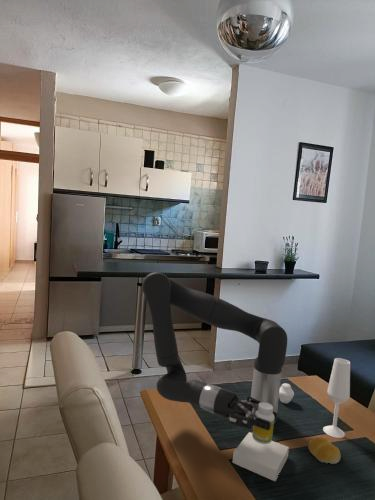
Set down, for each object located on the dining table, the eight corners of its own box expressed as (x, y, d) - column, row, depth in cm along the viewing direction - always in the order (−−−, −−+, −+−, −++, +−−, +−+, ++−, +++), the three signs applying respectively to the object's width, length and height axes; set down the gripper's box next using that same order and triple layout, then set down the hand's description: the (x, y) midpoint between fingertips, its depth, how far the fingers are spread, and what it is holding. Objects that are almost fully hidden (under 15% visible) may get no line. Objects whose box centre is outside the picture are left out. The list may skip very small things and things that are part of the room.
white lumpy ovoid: (284, 406, 132) (286, 388, 131) (273, 398, 137) (274, 381, 137) (296, 403, 135) (298, 385, 134) (284, 396, 140) (286, 378, 140)
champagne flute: (340, 440, 113) (349, 366, 111) (319, 430, 118) (327, 360, 116) (347, 432, 118) (356, 361, 116) (327, 423, 123) (335, 355, 121)
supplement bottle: (272, 446, 97) (276, 412, 96) (251, 442, 98) (255, 408, 97) (271, 435, 102) (275, 402, 101) (252, 431, 103) (256, 399, 102)
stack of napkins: (248, 441, 109) (249, 431, 108) (287, 457, 103) (288, 447, 102) (232, 462, 98) (233, 452, 98) (275, 481, 92) (276, 470, 92)
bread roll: (324, 468, 100) (326, 454, 99) (303, 448, 108) (304, 435, 108) (347, 462, 103) (349, 449, 102) (325, 444, 111) (326, 431, 111)
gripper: (208, 397, 100) (266, 419, 92) (229, 380, 113) (282, 398, 104) (205, 423, 101) (263, 447, 92) (226, 403, 113) (279, 423, 105)
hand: (273, 421), depth 98 cm, fingers closed on supplement bottle, 5 cm apart
